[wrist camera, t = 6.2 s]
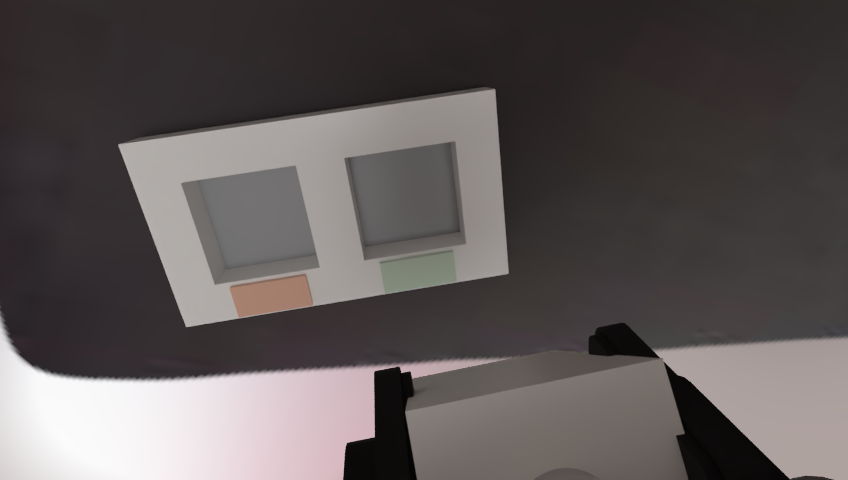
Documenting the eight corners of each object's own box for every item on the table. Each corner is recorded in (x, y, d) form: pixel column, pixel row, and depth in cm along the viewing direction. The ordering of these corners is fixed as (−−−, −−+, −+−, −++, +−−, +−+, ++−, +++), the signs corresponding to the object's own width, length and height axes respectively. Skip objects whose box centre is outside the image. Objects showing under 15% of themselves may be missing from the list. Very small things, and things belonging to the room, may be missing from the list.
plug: (552, 350, 13) (702, 361, 6) (590, 504, 12) (811, 717, 5) (412, 378, 13) (402, 423, 6) (441, 537, 12) (468, 801, 5)
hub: (484, 86, 25) (496, 89, 22) (498, 257, 28) (510, 276, 26) (141, 137, 24) (114, 145, 21) (201, 305, 28) (184, 330, 25)
